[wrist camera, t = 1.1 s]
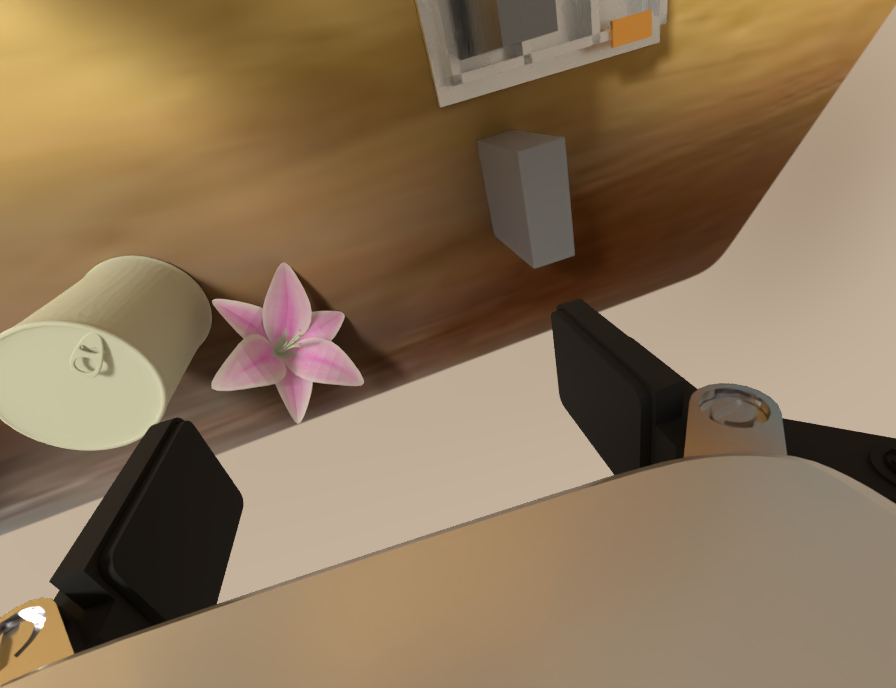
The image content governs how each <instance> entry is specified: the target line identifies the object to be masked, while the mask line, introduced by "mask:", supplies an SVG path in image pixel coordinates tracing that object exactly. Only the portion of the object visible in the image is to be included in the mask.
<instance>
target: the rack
mask: <svg viewBox="0 0 896 688" xmlns="http://www.w3.org/2000/svg"><path fill="white" fill-rule="evenodd" d="M667 2H668V0H415V4H416V9H417V13H418V17H419V22H420V26H421V31H422V35H423V40H424V44H425V49H426V53H427V58H428V62H429V66H430V71H431V75H432V80H433V84H434V89H435V93H436V98H437V102H438V107H439V108H441V107H444V106H448V105H451V104H454V103H458V102H461V101H465V100H468V99H471V98H475V97H478V96H481V95H485V94H488V93H491V92H495V91H498V90H501V89H505V88H508V87H512V86H515V85H518V84H522V83H525V82H528V81H532V80H535V79H538V78H542V77H545V76H548V75H552V74H555V73H559V72H562V71H565V70H569V69H572V68H575V67H579V66H582V65H585V64H589V63H592V62H595V61H599V60H602V59H605V58H609V57H612V56H616V55H619V54H622V53H626V52H629V51H632V50H636V49H639V48H642V47H646V46H649V45H652V44H656V43H659V42H660V25H663V24H667Z"/></svg>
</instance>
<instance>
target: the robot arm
mask: <svg viewBox="0 0 896 688" xmlns="http://www.w3.org/2000/svg"><path fill="white" fill-rule="evenodd" d="M551 320H552V330H553V339H554V348H555V358H556V367H557V376H558V386H559V394H560V398H561V401H562V404H563V406H564V407H565V409H566V410H567V411H568V413H569V414H570V415H571V417H572V418H573V419H574V421H575V422H576V423H577V425H578V426H579V428H580V429H581V430H582V432H583V433H584V434H585V436H586V437H587V438H588V440H589V441H590V443H591V444H592V445H593V446H594V448H595V449H596V450H597V452H598V453H599V455H600V456H601V457H602V459H603V460H604V461H605V463H606V464H607V466H608V467H609V468H610V469H611V471H612V472H613V474H614V476H611V477H607V478H604V479H600V480H597V481H594V482H591V483H588V484H585V485H582V486H579V487H575V488H572V489H569V490H565V491H562V492H559V493H556V494H552V495H549V496H546V497H543V498H540V499H537V500H534V501H531V502H527V503H524V504H521V505H519V506H515V507H512V508H509V509H506V510H503V511H500V512H497V513H493V514H490V515H487V516H484V517H481V518H478V519H475V520H472V521H468V522H465V523H462V524H459V525H456V526H453V527H450V528H447V529H444V530H440V531H438V532H435V533H431V534H428V535H426V536H422V537H419V538H416V539H413V540H410V541H407V542H404V543H401V544H398V545H395V546H392V547H388V548H386V549H382V550H379V551H376V552H373V553H370V554H367V555H364V556H361V557H358V558H355V559H352V560H349V561H346V562H343V563H340V564H337V565H334V566H331V567H328V568H325V569H322V570H319V571H315V572H312V573H310V574H306V575H303V576H300V577H297V578H294V579H292V580H288V581H285V582H282V583H279V584H277V585H274V586H270V587H267V588H264V589H262V590H258V591H255V592H252V593H249V594H246V595H243V596H240V597H238V598H234V599H231V600H229V601H226V602H223V603H219V604H217V601H218V597H219V593H220V590H221V586H222V582H223V579H224V575H225V571H226V568H227V564H228V561H229V557H230V553H231V550H232V546H233V542H234V539H235V535H236V532H237V528H238V524H239V521H240V517H241V513H242V509H243V498H242V495H241V493H240V491H239V490H238V488H237V487H236V486H235V484H234V483H233V481H232V480H231V478H230V477H229V475H228V474H227V473H226V471H225V470H224V468H223V467H222V465H221V464H220V462H219V461H218V459H217V458H216V457H215V455H214V454H213V452H212V451H211V449H210V448H209V446H208V445H207V443H206V442H205V441H204V439H203V438H202V436H201V435H200V433H199V432H198V430H197V429H196V427H195V426H194V425H193V424H192V423H191V422H190V421H184V420H182V419H181V418H174V419H171V420H167V421H164V422H160V423H157V424H154V425H151V426H150V427H149V429H148V430H147V432H146V433H145V435H144V436H143V438H142V439H141V441H140V443H139V444H138V446H137V447H136V449H135V450H134V452H133V453H132V455H131V456H130V458H129V459H128V461H127V463H126V464H125V466H124V467H123V469H122V470H121V472H120V473H119V475H118V476H117V478H116V479H115V481H114V483H113V484H112V486H111V487H110V489H109V490H108V492H107V493H106V495H105V496H104V498H103V500H102V501H101V503H100V504H99V506H98V507H97V509H96V510H95V512H94V513H93V515H92V516H91V518H90V520H89V521H88V523H87V524H86V526H85V527H84V529H83V530H82V532H81V533H80V535H79V537H78V538H77V540H76V541H75V543H74V544H73V546H72V547H71V549H70V550H69V552H68V554H67V555H66V557H65V558H64V560H63V561H62V563H61V564H60V566H59V567H58V569H57V570H56V572H55V573H54V575H53V577H52V578H51V580H50V582H51V583H52V584H53V585H54V586H55V587H57V588H58V589H59V590H60V591H59V592H58V594H57V596H56V597H55V599H54V600H53V599H51V598H39V599H34V600H30V601H28V602H26V603H24V604H22V605H20V606H18V607H16V608H14V609H13V610H11V611H9V612H8V613H6V614H5V615H3V616H2V617H0V688H896V439H895V438H890V437H884V436H878V435H873V434H867V433H862V432H856V431H850V430H845V429H839V428H834V427H827V426H822V425H816V424H811V423H806V422H800V421H794V420H788V419H783V418H782V414H781V411H780V408H779V406H778V405H777V403H776V402H775V401H774V400H773V399H771V397H769V396H767V395H766V394H764V393H762V392H761V391H758V390H756V389H753V388H750V387H747V386H742V385H737V384H724V383H723V384H721V383H720V384H712V385H708V386H705V387H702V388H700V389H696V388H695V387H694V386H693V385H691V384H690V383H689V382H688V381H686V380H685V379H684V378H683V377H681V376H680V375H679V374H677V373H676V372H675V371H674V370H672V369H671V368H670V367H668V366H667V365H666V364H665V363H663V362H662V361H661V360H660V359H658V358H657V357H656V356H654V355H653V354H652V353H651V352H649V351H648V350H647V349H645V348H644V347H643V346H642V345H640V344H639V343H638V342H637V341H635V340H634V339H633V338H631V337H629V336H627V335H626V334H624V333H623V332H622V331H621V330H620V329H618V328H617V327H616V326H614V325H613V324H612V323H611V322H609V321H608V320H607V319H606V318H604V317H603V316H602V315H601V314H599V313H598V312H597V311H595V310H594V309H593V308H592V307H590V306H589V305H588V304H587V303H585V302H584V301H583V300H581V299H576V300H573V301H569V302H566V303H563V304H559V305H558V306H557V311H555V312H552V314H551Z"/></svg>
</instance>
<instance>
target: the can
mask: <svg viewBox="0 0 896 688" xmlns="http://www.w3.org/2000/svg"><path fill="white" fill-rule="evenodd" d="M211 324H212V311H211V307H210V304H209V301H208V299H207V297H206V295H205V293H204V292H203V290H202V289H201V287H200V286H199V285H198V284H197V283H196V282H195V281H194V280H193V279H192V278H191V277H190V276H189V275H188V274H186V273H185V272H183V271H182V270H180V269H179V268H177V267H175V266H173V265H171V264H169V263H167V262H164V261H161V260H158V259H155V258H150V257H144V256H121V257H116V258H112V259H109V260H106V261H104V262H102V263H100V264H98V265H97V266H95V267H94V268H93V269H91V270H90V271H89V272H88V273H87V275H86V276H85V277H84V278H83V279H81V280H80V281H79V282H77V283H76V284H75V285H73V286H72V287H71V288H69V289H68V290H66V291H65V292H63V293H62V294H61V295H59V296H58V297H56V298H55V299H54V300H52V301H51V302H49V303H48V304H46V305H45V306H44V307H42V308H41V309H39V310H38V311H36V312H35V313H33V314H32V315H30V316H29V317H27V318H26V319H24V320H23V321H21V322H20V323H18V324H17V325H15V326H14V327H12V328H10V329H8V330H6V331H4V332H2V333H1V334H0V419H1V420H2V421H3V422H5V423H6V424H7V425H9V426H10V427H12V428H13V429H15V430H16V431H18V432H20V433H22V434H24V435H26V436H28V437H30V438H32V439H34V440H37V441H40V442H43V443H46V444H49V445H53V446H56V447H61V448H67V449H74V450H105V449H112V448H117V447H121V446H124V445H127V444H130V443H133V442H135V441H137V440H139V439H141V438H142V437H143V436H144V435H145V433H146V432H147V430H148V429H149V427H150V426H151V425H154V424H157V423H159V422H160V421H161V419H162V417H163V415H164V413H165V411H166V407H167V405H168V403H169V401H170V399H171V397H172V395H173V393H174V391H175V389H176V388H177V386H178V384H179V382H180V380H181V378H182V376H183V375H184V373H185V371H186V369H187V367H188V365H189V364H190V362H191V360H192V358H193V356H194V355H195V353H196V351H197V349H198V348H199V346H200V345H201V344H202V343H203V342H204V341H205V339H206V338H207V336H208V334H209V332H210V329H211Z"/></svg>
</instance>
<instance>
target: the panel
mask: <svg viewBox="0 0 896 688" xmlns="http://www.w3.org/2000/svg"><path fill="white" fill-rule="evenodd" d="M476 142H477V147H478V152H479V158H480V163H481V168H482V174H483V179H484V184H485V189H486V195H487V200H488V205H489V211H490V216H491V221H492V226H493V232H494V236H495V237H496V238H498V239H499V240H500V241H501V242H502V243H504V244H505V245H506V246H507V247H508V248H510V249H511V250H512V251H513V252H514V253H516V254H517V255H518V256H519V257H520V258H522V259H523V260H524V261H525V262H526V263H528V264H529V265H530V266H531V267H532V268H534V269H535V268H538V267H541V266H544V265H547V264H550V263H554V262H557V261H560V260H563V259H566V258H569V257H572V256H575V249H574V237H573V226H572V214H571V202H570V190H569V178H568V167H567V155H566V143H565V137H560V136H554V135H547V134H541V133H534V132H528V131H521V130H515V129H513V130H510V131H506V132H503V133H500V134H497V135H493V136H490V137H487V138H484V139H480V140H477V141H476Z"/></svg>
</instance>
